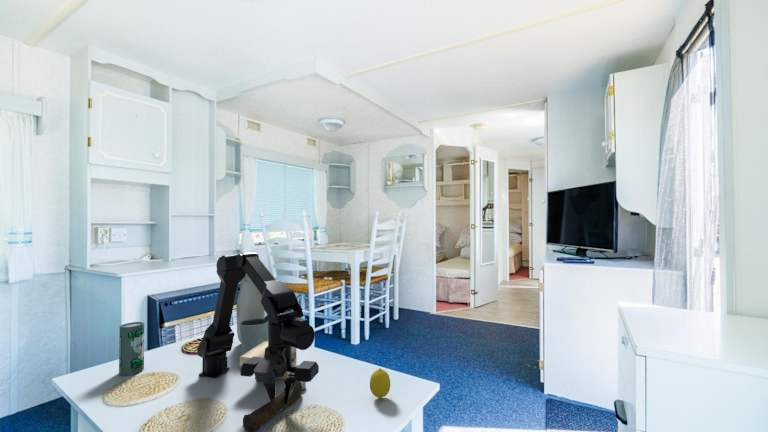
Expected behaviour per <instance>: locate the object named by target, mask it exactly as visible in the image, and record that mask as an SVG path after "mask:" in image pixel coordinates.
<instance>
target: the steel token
mask: <svg viewBox="0 0 768 432" xmlns="http://www.w3.org/2000/svg"><path fill="white" fill-rule="evenodd" d="M299 382H301V381H299ZM301 385H302V392H304V391H306V387H307V386H306V385H307V382H301Z"/></svg>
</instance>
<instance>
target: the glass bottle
mask: <svg viewBox="0 0 768 432" xmlns="http://www.w3.org/2000/svg"><path fill="white" fill-rule="evenodd" d="M239 284H240V288H239V292H238V296H237V301H236V333H237V339H238V341H239V342H240V343H241V341H242V340H241V333H240V322H242V321H244V320H247V319H252V318H265V317H266V316H265V315H266V314H265V313H266V311H265V310H264V308H263V306H262V304H261V293H260V292H259V290H258V289H257V288H256V286H255V285H254V283H253V282H252V281H251V279H250V278H249V277H248V275H247V274H246V276H245V277H244V278H243V279H242V280H241V281H240V282H239Z"/></svg>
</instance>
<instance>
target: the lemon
mask: <svg viewBox="0 0 768 432" xmlns="http://www.w3.org/2000/svg"><path fill="white" fill-rule="evenodd" d="M369 388H370V392H371V394H372V395H373V396H374V397H376V398H377V399H379V400H382V398H384V397H386V396H387V395H388V394H389V392H390V389H391V378H390V375H389V373H388V372H387V371H386V370H384V369H382V368H378V369H376V370H374V371H373V372H372V374H371V376H370V379H369Z"/></svg>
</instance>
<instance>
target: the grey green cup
mask: <svg viewBox="0 0 768 432" xmlns="http://www.w3.org/2000/svg"><path fill="white" fill-rule="evenodd" d="M240 333H241V340H242V341H241V342H240V344H241V353H242V354H241V356H242V355H243V354H245V353H247V352H248V351H250V350H251V349H253V348H255V347H256V346H258V345H259V344H261V343H263V342H264V341H268V321H265V320H264V318H252V319H247V320H244V321H242V322H240Z"/></svg>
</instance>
